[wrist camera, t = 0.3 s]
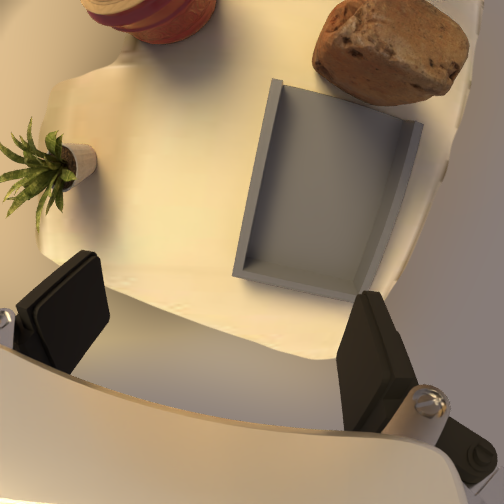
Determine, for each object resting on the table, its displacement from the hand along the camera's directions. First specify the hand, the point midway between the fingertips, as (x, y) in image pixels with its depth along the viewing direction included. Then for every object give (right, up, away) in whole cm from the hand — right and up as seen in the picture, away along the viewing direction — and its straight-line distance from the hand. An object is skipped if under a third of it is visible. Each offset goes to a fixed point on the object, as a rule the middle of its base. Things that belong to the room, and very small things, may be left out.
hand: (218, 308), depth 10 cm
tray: (+11, +10, +28) cm, 32 cm away
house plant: (-25, +17, +29) cm, 42 cm away
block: (+14, +25, +21) cm, 35 cm away
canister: (-10, +35, +19) cm, 41 cm away
